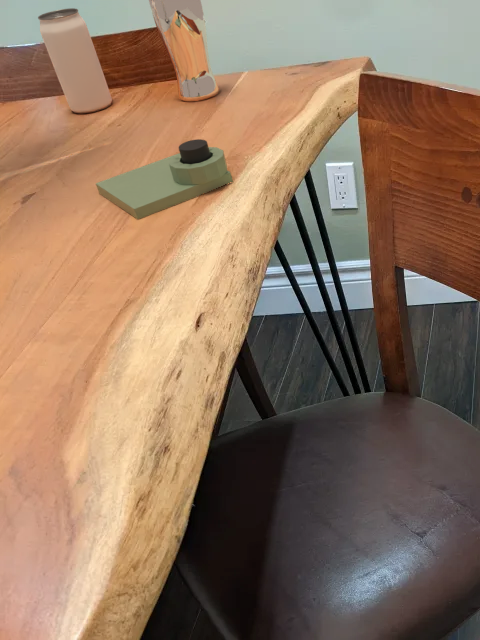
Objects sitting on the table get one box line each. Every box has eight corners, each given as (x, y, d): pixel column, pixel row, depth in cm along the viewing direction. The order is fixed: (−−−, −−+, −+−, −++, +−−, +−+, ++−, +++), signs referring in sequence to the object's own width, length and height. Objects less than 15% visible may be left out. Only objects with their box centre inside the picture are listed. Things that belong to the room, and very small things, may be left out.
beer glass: (208, 102, 101) (176, -24, 90) (168, 103, 103) (131, -21, 92) (230, 87, 105) (201, -36, 95) (191, 87, 108) (158, -33, 97)
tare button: (191, 169, 76) (186, 152, 75) (178, 162, 78) (173, 146, 77) (216, 159, 77) (212, 143, 76) (203, 153, 79) (198, 137, 78)
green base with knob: (140, 221, 74) (129, 193, 72) (99, 193, 81) (88, 167, 79) (239, 182, 79) (233, 154, 77) (193, 159, 86) (185, 133, 83)
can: (77, 117, 103) (40, 21, 94) (66, 108, 107) (30, 15, 98) (118, 105, 105) (86, 11, 96) (106, 97, 109) (74, 5, 100)
